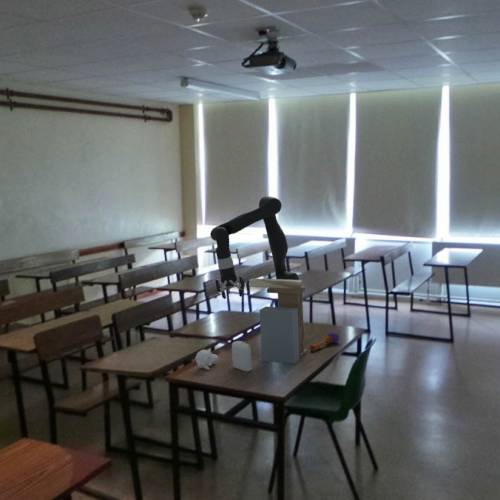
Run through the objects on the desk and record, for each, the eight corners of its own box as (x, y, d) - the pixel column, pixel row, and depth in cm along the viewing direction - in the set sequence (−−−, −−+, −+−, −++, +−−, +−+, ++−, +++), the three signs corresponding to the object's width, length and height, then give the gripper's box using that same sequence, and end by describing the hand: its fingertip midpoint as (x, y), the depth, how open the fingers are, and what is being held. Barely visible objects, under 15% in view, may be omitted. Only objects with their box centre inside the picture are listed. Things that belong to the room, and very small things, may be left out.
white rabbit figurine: (194, 350, 250) (211, 345, 260) (194, 369, 250) (211, 363, 260) (204, 352, 246) (221, 347, 256) (204, 371, 247) (221, 365, 256)
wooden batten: (252, 285, 272) (252, 278, 272) (303, 287, 261) (302, 280, 261) (249, 286, 269) (249, 279, 269) (300, 289, 258) (300, 281, 257)
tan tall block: (276, 349, 274) (273, 285, 270) (307, 352, 267) (304, 286, 263) (269, 354, 267) (266, 288, 263) (301, 357, 260) (299, 290, 256)
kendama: (306, 342, 270) (330, 330, 284) (309, 354, 271) (333, 341, 285) (315, 342, 266) (339, 329, 280) (318, 354, 266) (342, 341, 280)
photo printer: (231, 367, 251) (229, 340, 250) (238, 364, 254) (237, 338, 252) (245, 372, 243) (244, 345, 242) (253, 370, 246) (252, 343, 245)
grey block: (267, 356, 265) (265, 306, 261) (299, 359, 258) (297, 308, 255) (261, 360, 258) (259, 309, 255) (294, 364, 251) (292, 311, 248)
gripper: (241, 262, 280) (248, 293, 282) (215, 266, 284) (221, 297, 286) (237, 266, 273) (244, 297, 275) (210, 270, 277) (217, 301, 279)
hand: (232, 297), depth 281 cm, fingers open, 8 cm apart
